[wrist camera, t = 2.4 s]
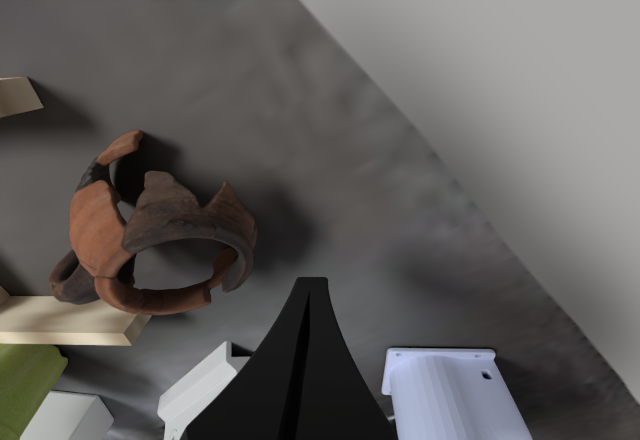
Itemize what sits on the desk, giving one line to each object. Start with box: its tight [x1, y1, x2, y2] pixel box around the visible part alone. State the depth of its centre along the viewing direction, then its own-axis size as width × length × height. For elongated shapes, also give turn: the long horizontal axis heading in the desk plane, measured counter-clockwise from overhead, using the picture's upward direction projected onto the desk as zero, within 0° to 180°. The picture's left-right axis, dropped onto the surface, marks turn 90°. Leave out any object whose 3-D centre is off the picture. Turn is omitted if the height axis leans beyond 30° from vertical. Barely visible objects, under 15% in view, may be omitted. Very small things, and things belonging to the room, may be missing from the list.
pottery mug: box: [49, 130, 258, 315], centre depth 16 cm, size 12×10×8 cm
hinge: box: [158, 341, 250, 440], centre depth 28 cm, size 17×5×10 cm, turn 139°
